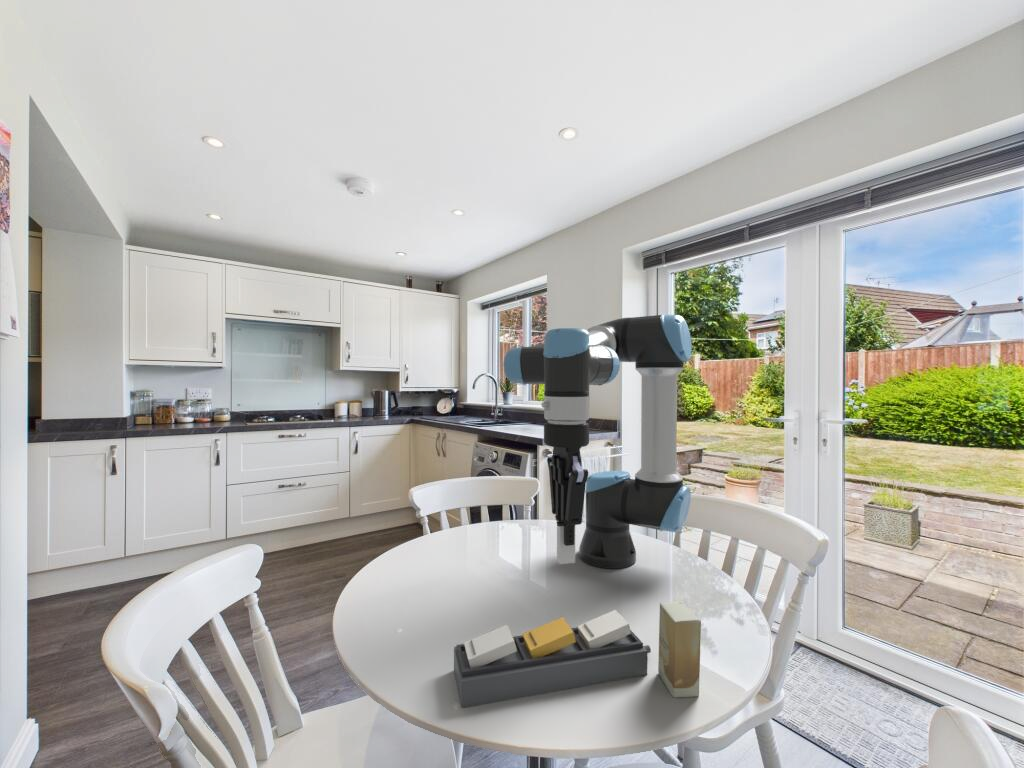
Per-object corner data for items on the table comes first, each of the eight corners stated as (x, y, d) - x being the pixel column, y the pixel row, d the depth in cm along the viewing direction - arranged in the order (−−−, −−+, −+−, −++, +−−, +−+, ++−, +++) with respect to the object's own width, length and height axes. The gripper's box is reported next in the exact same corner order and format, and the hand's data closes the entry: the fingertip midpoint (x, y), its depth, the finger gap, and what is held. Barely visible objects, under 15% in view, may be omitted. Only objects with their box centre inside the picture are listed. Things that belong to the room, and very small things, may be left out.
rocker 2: (617, 618, 82) (615, 608, 82) (631, 633, 78) (628, 622, 78) (579, 635, 81) (576, 624, 81) (591, 651, 76) (588, 640, 76)
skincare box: (657, 672, 77) (657, 600, 77) (682, 671, 77) (682, 599, 77) (674, 699, 70) (674, 621, 70) (701, 698, 71) (701, 619, 71)
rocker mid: (565, 626, 80) (562, 615, 80) (576, 641, 75) (573, 630, 75) (524, 643, 78) (522, 632, 78) (533, 660, 74) (530, 649, 73)
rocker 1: (509, 634, 78) (506, 623, 77) (517, 651, 73) (514, 639, 73) (466, 652, 76) (463, 641, 76) (471, 670, 71) (467, 658, 71)
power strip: (635, 641, 86) (636, 616, 86) (663, 671, 77) (663, 643, 77) (453, 670, 77) (453, 642, 77) (461, 707, 69) (461, 676, 69)
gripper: (533, 418, 82) (533, 549, 83) (558, 426, 69) (558, 581, 70) (572, 417, 84) (572, 545, 84) (604, 425, 71) (603, 575, 72)
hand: (565, 561), depth 77 cm, fingers closed
